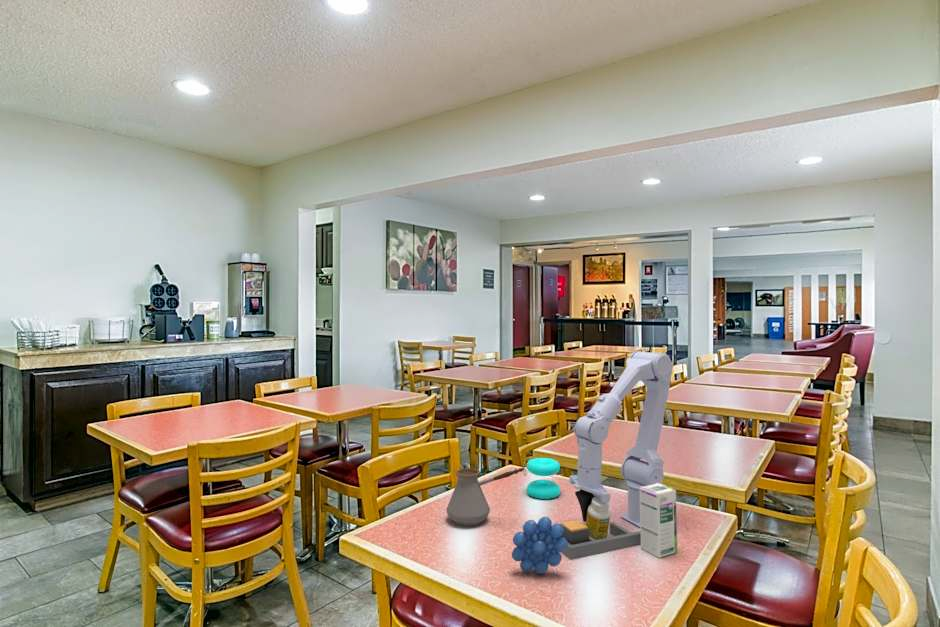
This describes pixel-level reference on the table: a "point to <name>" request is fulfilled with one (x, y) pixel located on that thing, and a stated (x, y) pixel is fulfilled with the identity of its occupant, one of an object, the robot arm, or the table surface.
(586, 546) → the grey tray with block
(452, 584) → the table surface
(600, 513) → the supplement bottle
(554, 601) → the table surface
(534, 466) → the donuts
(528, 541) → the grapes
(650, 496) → the syrup box
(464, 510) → the coffee pot
